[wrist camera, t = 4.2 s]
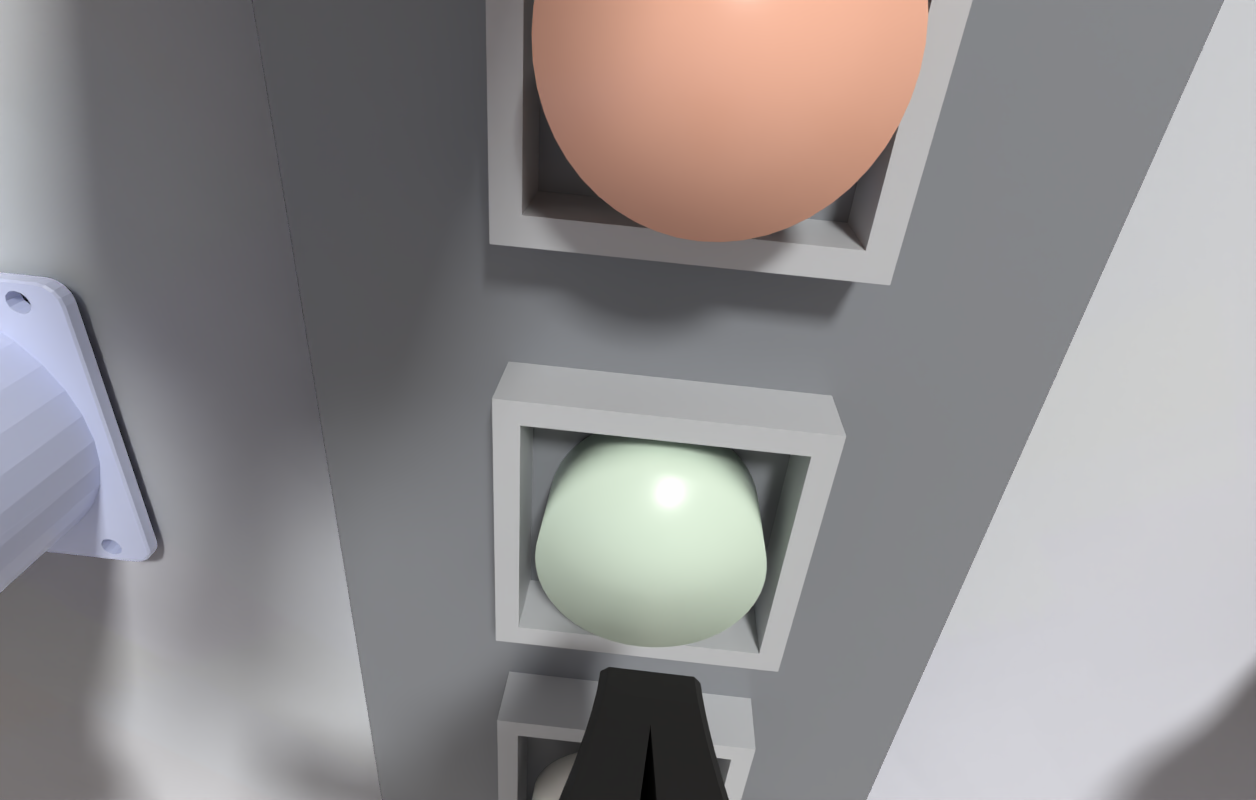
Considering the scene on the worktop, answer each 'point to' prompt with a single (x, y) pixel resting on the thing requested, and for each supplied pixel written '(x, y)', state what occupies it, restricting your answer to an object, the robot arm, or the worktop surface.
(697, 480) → the sage button
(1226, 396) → the worktop surface
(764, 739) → the button panel
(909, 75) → the terracotta button
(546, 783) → the cream button
